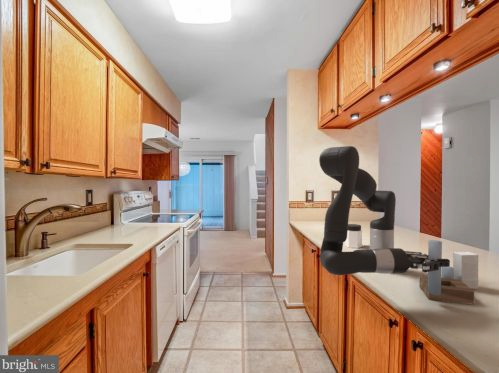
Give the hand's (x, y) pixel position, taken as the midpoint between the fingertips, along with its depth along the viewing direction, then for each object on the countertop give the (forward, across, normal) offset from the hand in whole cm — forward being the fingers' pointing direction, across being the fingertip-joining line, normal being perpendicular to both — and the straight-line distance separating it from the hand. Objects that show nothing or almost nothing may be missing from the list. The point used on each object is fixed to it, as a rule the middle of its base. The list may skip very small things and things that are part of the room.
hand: (444, 260), depth 84 cm
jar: (-4, +69, +14) cm, 71 cm away
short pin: (+10, +13, +14) cm, 21 cm away
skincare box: (+16, +13, +14) cm, 25 cm away
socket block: (+4, +6, +14) cm, 15 cm away
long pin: (-3, 0, +10) cm, 10 cm away
